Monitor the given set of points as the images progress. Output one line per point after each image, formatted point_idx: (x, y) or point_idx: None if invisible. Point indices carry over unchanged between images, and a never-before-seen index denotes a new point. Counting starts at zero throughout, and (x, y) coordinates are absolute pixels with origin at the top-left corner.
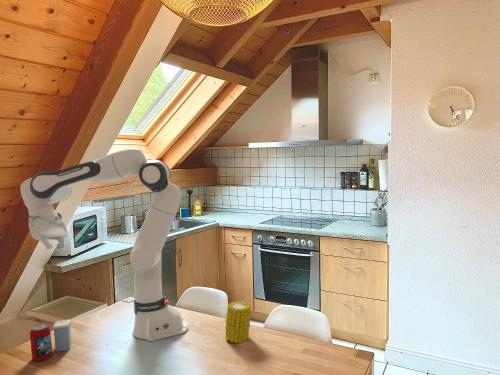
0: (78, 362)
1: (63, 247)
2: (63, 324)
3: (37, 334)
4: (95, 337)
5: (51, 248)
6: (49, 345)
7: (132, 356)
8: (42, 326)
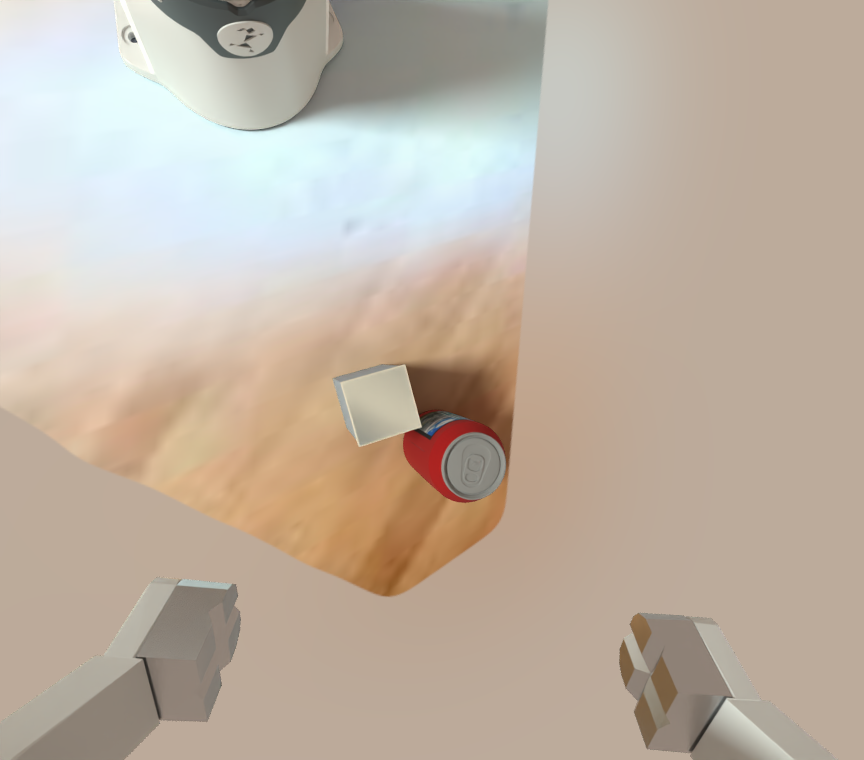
0: (477, 295)
1: (230, 589)
2: (401, 388)
3: (504, 453)
4: (281, 294)
5: (642, 621)
6: (455, 414)
7: (453, 107)
8: (471, 455)
